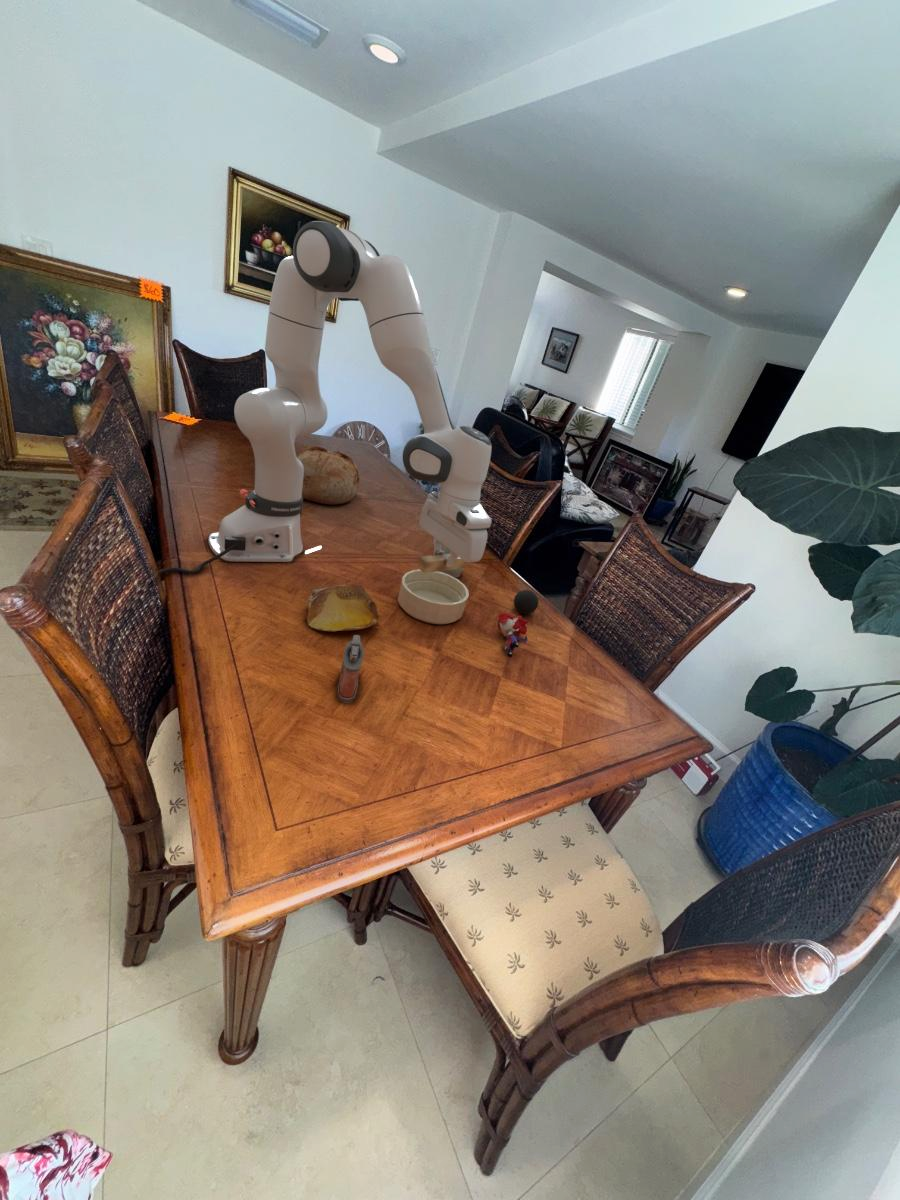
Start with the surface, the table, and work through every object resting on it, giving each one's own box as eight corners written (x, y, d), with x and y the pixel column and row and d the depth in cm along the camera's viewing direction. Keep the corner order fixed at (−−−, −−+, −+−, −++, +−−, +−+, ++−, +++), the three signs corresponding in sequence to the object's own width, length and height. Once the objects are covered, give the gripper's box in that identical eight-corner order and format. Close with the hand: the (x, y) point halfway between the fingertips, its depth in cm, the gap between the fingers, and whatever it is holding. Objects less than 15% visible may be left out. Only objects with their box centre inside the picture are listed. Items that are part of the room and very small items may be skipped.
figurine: (493, 656, 105) (489, 620, 119) (526, 670, 107) (518, 633, 120) (508, 633, 103) (502, 600, 116) (541, 648, 104) (532, 613, 118)
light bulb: (536, 588, 133) (540, 591, 123) (534, 611, 133) (538, 616, 124) (513, 586, 133) (515, 590, 123) (511, 609, 134) (513, 614, 124)
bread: (347, 513, 157) (354, 468, 150) (275, 496, 155) (279, 449, 148) (361, 489, 180) (368, 450, 173) (299, 474, 178) (303, 433, 171)
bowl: (421, 631, 108) (427, 608, 105) (384, 593, 118) (389, 572, 116) (475, 619, 118) (482, 599, 116) (437, 586, 129) (442, 566, 126)
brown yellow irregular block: (391, 622, 100) (321, 613, 93) (378, 648, 104) (310, 641, 96) (374, 574, 112) (310, 563, 104) (363, 599, 116) (300, 590, 108)
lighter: (340, 671, 90) (348, 627, 85) (358, 674, 91) (367, 630, 86) (335, 701, 83) (343, 655, 78) (355, 703, 84) (364, 658, 79)
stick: (423, 573, 108) (426, 562, 107) (416, 567, 110) (419, 556, 109) (464, 568, 116) (467, 557, 114) (457, 562, 117) (460, 552, 116)
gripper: (419, 487, 110) (407, 542, 117) (474, 525, 97) (458, 584, 104) (441, 488, 114) (428, 541, 121) (497, 524, 101) (479, 581, 108)
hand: (442, 561), depth 112 cm, fingers closed on stick, 3 cm apart
